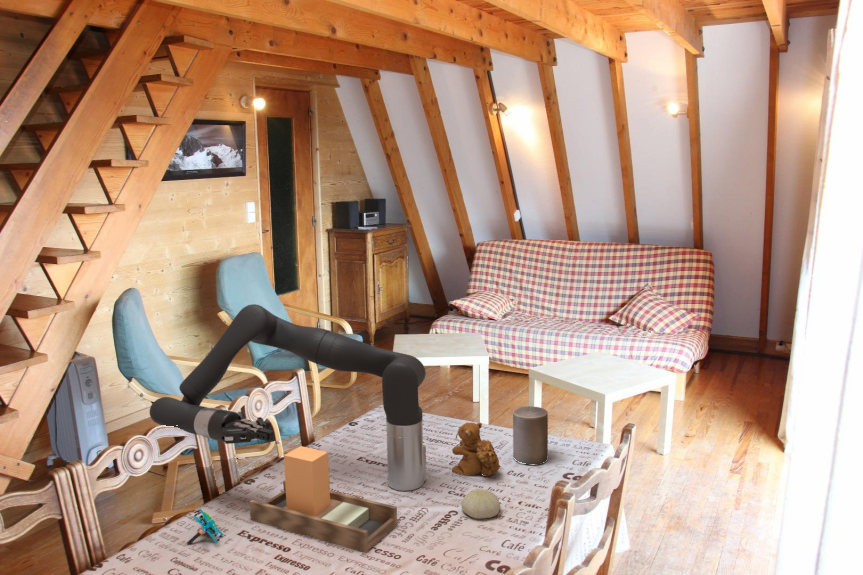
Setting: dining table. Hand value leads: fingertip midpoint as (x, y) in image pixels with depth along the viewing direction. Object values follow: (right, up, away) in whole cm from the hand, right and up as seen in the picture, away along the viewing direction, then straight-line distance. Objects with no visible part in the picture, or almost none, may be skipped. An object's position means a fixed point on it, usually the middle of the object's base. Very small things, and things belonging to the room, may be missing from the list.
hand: (272, 436), depth 164 cm
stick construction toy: (-13, -21, -9) cm, 26 cm away
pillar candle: (+65, -13, +31) cm, 73 cm away
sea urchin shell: (+49, -18, +1) cm, 52 cm away
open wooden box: (+12, -19, -3) cm, 23 cm away
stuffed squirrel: (+50, -15, +23) cm, 57 cm away
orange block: (+9, -16, -2) cm, 18 cm away
